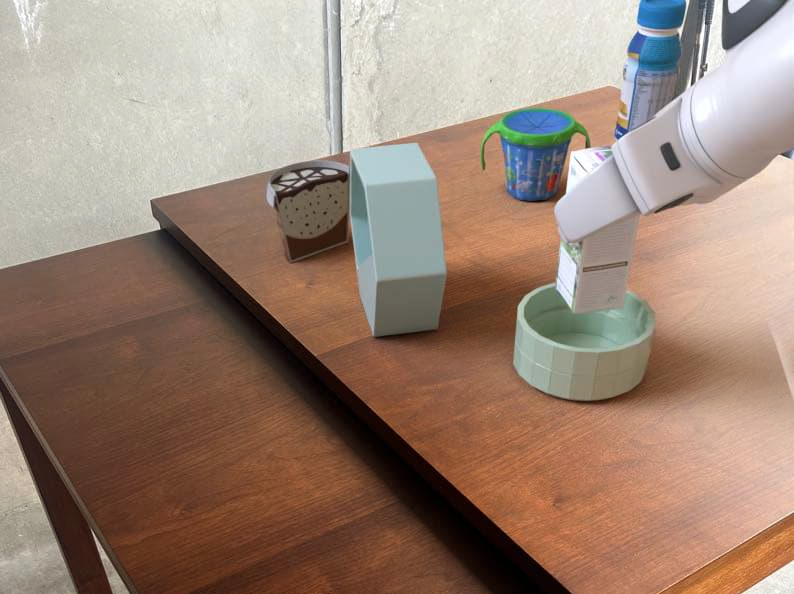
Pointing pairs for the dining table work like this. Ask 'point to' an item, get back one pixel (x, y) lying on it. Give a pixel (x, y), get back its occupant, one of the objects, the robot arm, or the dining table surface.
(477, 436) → the dining table surface
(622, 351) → the bowl
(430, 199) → the planter
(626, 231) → the syrup box
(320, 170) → the food container
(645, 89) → the beverage bottle
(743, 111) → the robot arm
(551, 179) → the snack cup
